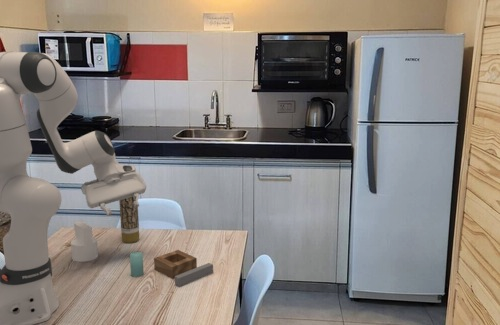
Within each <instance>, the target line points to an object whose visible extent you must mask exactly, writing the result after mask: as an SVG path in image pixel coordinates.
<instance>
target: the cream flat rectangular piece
mask: <svg viewBox="0 0 500 325" xmlns="http://www.w3.org/2000/svg"><path fill="white" fill-rule="evenodd" d="M213 273H214V264H213V263H210V262H208V263H207V262H206V263H205V264H203V265H200V266H197V268H195V269H192V270H189V271H187V272H184V273H182V274H179V275H177V276H175V278H174V286H176V287H177V288H180V287H183V286H186V285H188V284H190V283H192V282H195V281H198V280H200V279H202V278H205V277H207V276H209V275H211V274H213Z"/></svg>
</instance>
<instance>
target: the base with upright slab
mask: <svg viewBox="0 0 500 325" xmlns="http://www.w3.org/2000/svg"><path fill="white" fill-rule="evenodd" d="M73 227H74V239H72V240H71V241H70V247H71V248H70V249H71V259H72V261H74V262H77V263H79V262H80V263H81V262H82V263H84V262H90V261H93V260H95V259H98V257H99V248H98V247H99V246H98V239H97V237H94V236H93V228H92V227H91V225H89V224H87V223H86V222H84V221H76V222H74V223H73Z"/></svg>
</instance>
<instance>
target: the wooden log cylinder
mask: <svg viewBox="0 0 500 325" xmlns="http://www.w3.org/2000/svg"><path fill="white" fill-rule="evenodd" d="M135 200H136V198H135V199H134V197H133V196H132V197H129V198H125V199H122V200H119V216H120V232H121V241H122V242H123V243H125V244H133V243H137V242H138V241H139V240H140V224H139V223H140V222H139V221H140V220H139V207H135V208H134V205H133V202H134V201H135Z"/></svg>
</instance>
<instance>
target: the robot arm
mask: <svg viewBox="0 0 500 325" xmlns="http://www.w3.org/2000/svg"><path fill="white" fill-rule="evenodd" d="M57 61H58V60H57ZM57 61H56V59H55V58H54V57H53V56H51V55H50V54H48V53H44V52H37V51H29V52H27V51H25V52H24V51H12V50H11V51H9V50H8V51H1V52H0V213H4V214H8V215H9V216H10V227H9V231H8V232H6V234H5V235H4V236H3V239H2V247H3V254H4V255H3V258H4V265H3V267H2V268H0V325H36V324H37V325H38V324H40V323H43V322H46V321H48V320H50V318H51V316H52V314H53V313H54V312H55V311H56V310H58V309H59V307H60V300H59V299H58V297H57V296H58V295H57V292H56V290H55V287H54V283H53V279H52V277H53V265H52V260H51V257H50V256H49V245H48V244H49V243H48V232H49V231H48V230H49V226H50V222H51V220H52V218H53V217H54V216H55V215H56V214H57V213H58V211H59V209H60V207H61V205H62V204H61V203H62V194H61V192H60V190H59V188H58V187H57V186H56V185H54V184H52V183H51V182H49V181H47V180H45V179H42V178H38V177H33V176H29V174H28V171H27V163H28V162H27V160H28V158H30V156H31V154H32V152H33V146H32V142H31V138H30V134H29V133H30V132H29V130H28V126H27V122H26V117H25V115H24V111H23V109H22V108H23V107H22V105H21V103H20V102H21V99H20V98H21V95H27V94H28V95H29V94H33V95H34V97H35V98H36V100H37V101H38V105H39V107H38V109H37V110H36V117H37V118H36V119H37V122H38V125H39V127H40V129H41V132H42V134H43V136H44V138H45V140H46V142H47V145H48V147H49V148H50V150H51V153H52V155H53V157H54V161H55V164H56V166H57V168H58V169H59V170H60V171H61V172H63V173H66V174H71V175H72V174H75V173H76V172H78V171H80V170H82V169H83V168H85V167H88V166H90V165H92V167H93V173H94V175H95V178H96V179H93V180H91V181H85V182H84V183H83V184H82V185H80V186H81V187H80V189H81V192H82V194H83V195H85V200H86V206H87V207H88V208H89V209H94V208H97V207H99V209H100V210H102V211H103V212H105V214H106V217H109V216H112V214H113V212H112V209H111V208H107V207H106V205H108V204H111V203H115V202H118V201H119V200H122V199H125V198H129V197H132V196H133V197H134V199H135V198H136V200H135V201H134V202H133V205H134V208H135V207H138V208H139V206H140V203H139V195H141V194H144V193H145V192H146V190H147V185H146V182H145V181H144V178H143V177H142V175H141V174H140V173H139V172H137V170H136V166H135V164H134V165H133V164H120V163H119V161H118V160H117V159H116V158H117V157H116V153H115V147H114V145H113V142H112V139H111V138H110V136H109V135H108V134H107V133H105V132H102V131H100V130H94V131H91V132H88V133H86V134H84V135H81V136H80V137H78V138H77V137H76V139H73V140H70V141H68V142H63V140H62V138H61V135H60V133H59V131H58V126H59V125H60V124H61V123H62V122H63V121H64V120H65V119H66V118H67V117H68V116H70V114H72V112H73V111H74V110H75V108H76V106H77V103H78V99H79V96H78V95H79V94H78V91H77V88H76V86H75V85H74V83H73V81H72V80H71V78H70V77H69V75H68V74H67V72H66V70H64V68H63V67H62V66H61V64H60V63H59V62H57Z"/></svg>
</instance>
